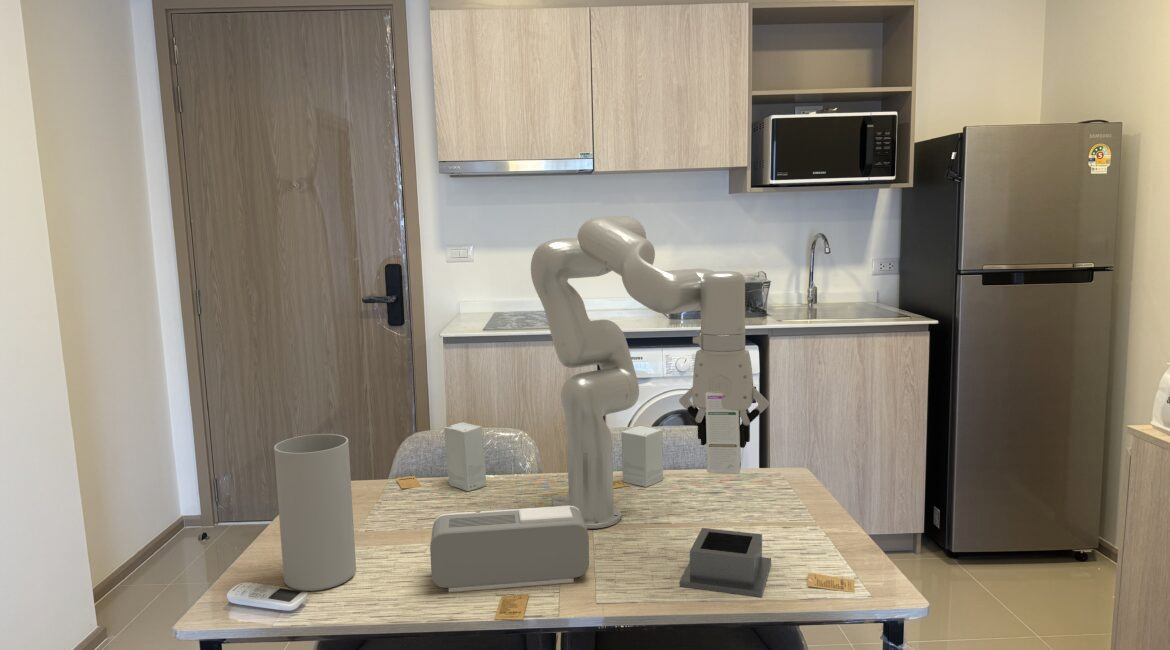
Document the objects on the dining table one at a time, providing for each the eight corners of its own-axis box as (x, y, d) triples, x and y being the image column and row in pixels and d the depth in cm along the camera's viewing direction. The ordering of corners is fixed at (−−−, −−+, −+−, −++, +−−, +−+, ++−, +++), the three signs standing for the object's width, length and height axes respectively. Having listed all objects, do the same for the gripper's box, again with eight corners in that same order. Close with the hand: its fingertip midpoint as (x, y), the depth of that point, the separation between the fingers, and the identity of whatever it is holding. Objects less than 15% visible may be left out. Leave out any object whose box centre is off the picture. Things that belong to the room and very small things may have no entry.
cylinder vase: (286, 598, 139) (276, 457, 136) (282, 570, 150) (272, 439, 147) (361, 584, 144) (352, 447, 141) (351, 557, 155) (343, 430, 152)
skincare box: (487, 486, 195) (484, 426, 193) (466, 492, 191) (464, 431, 189) (466, 479, 201) (463, 420, 199) (446, 485, 197) (443, 425, 195)
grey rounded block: (582, 561, 152) (581, 500, 150) (589, 583, 143) (588, 518, 141) (435, 572, 148) (432, 510, 147) (432, 595, 139) (429, 529, 138)
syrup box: (740, 474, 139) (740, 391, 137) (705, 473, 140) (705, 391, 139) (741, 464, 145) (740, 385, 143) (707, 463, 146) (707, 384, 144)
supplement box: (664, 480, 197) (663, 429, 195) (645, 488, 192) (645, 436, 190) (639, 474, 202) (639, 424, 200) (621, 481, 196) (620, 431, 195)
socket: (679, 586, 140) (679, 553, 140) (695, 554, 153) (695, 524, 153) (761, 597, 136) (761, 563, 135) (771, 563, 149) (771, 532, 148)
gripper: (669, 345, 139) (670, 447, 141) (771, 347, 133) (771, 453, 136) (678, 339, 146) (680, 436, 148) (776, 341, 140) (776, 442, 143)
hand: (723, 443), depth 142 cm, fingers closed on syrup box, 6 cm apart
